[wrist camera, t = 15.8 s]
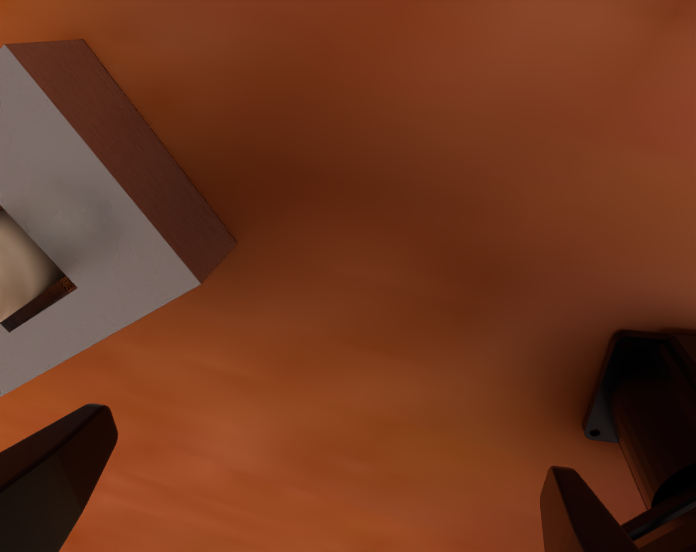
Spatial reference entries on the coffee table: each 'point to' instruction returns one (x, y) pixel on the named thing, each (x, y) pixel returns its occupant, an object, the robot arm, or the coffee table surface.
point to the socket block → (91, 206)
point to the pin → (22, 267)
